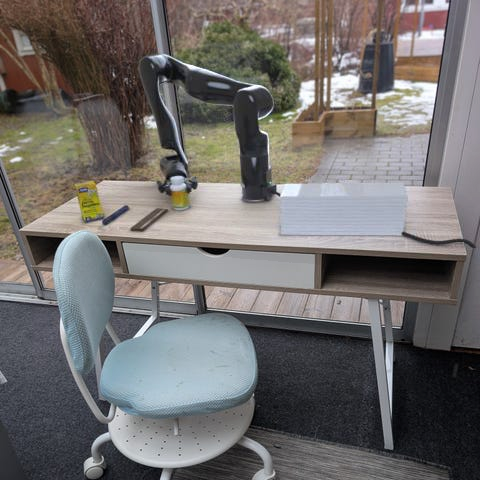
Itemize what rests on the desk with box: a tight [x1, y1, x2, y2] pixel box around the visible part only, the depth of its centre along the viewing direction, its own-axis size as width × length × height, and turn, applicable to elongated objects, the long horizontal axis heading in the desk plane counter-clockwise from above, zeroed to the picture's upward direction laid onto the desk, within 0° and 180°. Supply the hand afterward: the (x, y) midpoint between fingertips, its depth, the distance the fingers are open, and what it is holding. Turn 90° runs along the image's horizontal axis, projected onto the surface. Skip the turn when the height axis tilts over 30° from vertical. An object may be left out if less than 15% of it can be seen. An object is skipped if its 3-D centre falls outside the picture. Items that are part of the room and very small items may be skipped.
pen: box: [101, 204, 130, 226], centre depth 150 cm, size 15×2×2 cm, turn 161°
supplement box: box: [73, 180, 105, 223], centre depth 149 cm, size 6×6×11 cm
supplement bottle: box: [170, 176, 190, 211], centre depth 151 cm, size 5×5×10 cm
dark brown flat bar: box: [130, 207, 169, 233], centre depth 146 cm, size 17×4×1 cm, turn 161°
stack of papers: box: [279, 181, 409, 237], centre depth 128 cm, size 32×11×11 cm, turn 80°
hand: (179, 191), depth 149 cm, fingers closed on supplement bottle, 5 cm apart
